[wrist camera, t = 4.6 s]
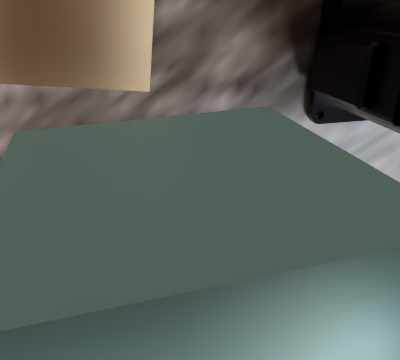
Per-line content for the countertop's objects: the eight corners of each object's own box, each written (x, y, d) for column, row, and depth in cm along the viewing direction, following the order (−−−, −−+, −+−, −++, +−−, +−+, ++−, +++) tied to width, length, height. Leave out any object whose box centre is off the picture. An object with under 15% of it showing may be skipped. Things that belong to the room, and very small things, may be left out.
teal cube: (268, 106, 10) (482, 230, 4) (258, 289, 12) (387, 502, 7) (15, 132, 8) (-99, 352, 3) (64, 331, 11) (46, 634, 6)
